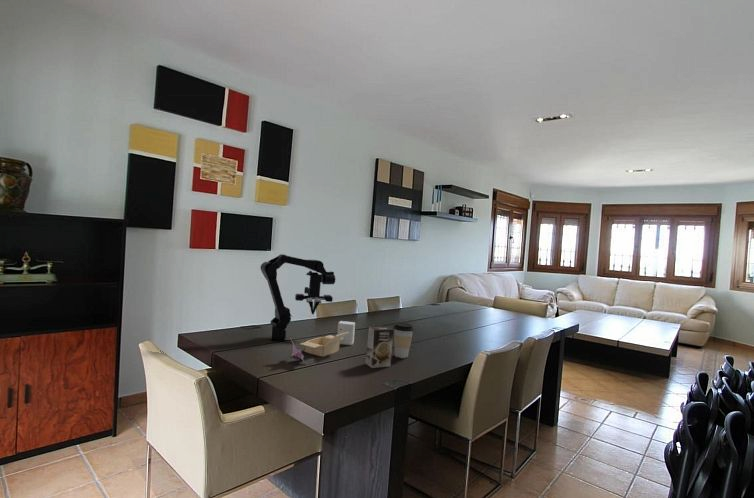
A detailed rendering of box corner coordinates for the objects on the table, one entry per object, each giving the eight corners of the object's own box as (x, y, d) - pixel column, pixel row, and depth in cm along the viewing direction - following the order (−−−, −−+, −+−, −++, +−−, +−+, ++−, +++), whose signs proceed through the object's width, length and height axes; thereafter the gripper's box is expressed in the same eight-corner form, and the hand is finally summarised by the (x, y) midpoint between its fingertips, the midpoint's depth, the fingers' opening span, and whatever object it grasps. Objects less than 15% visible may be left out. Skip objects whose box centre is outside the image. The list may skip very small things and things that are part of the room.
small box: (353, 342, 203) (355, 322, 203) (352, 345, 197) (353, 324, 197) (338, 341, 204) (340, 320, 203) (336, 343, 198) (338, 322, 198)
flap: (335, 335, 173) (336, 335, 173) (348, 331, 182) (348, 332, 182) (324, 344, 176) (325, 345, 176) (337, 340, 185) (338, 341, 185)
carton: (296, 353, 176) (297, 342, 176) (326, 344, 196) (327, 334, 195) (315, 359, 171) (316, 347, 171) (345, 348, 190) (345, 338, 190)
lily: (300, 372, 156) (312, 350, 159) (274, 358, 157) (287, 336, 159) (303, 372, 167) (314, 351, 170) (278, 358, 168) (290, 338, 171)
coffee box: (371, 368, 165) (375, 329, 165) (365, 363, 171) (368, 326, 170) (390, 366, 169) (394, 329, 169) (383, 362, 175) (386, 325, 175)
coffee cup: (414, 356, 188) (416, 324, 188) (407, 360, 180) (409, 328, 179) (395, 352, 192) (398, 321, 192) (387, 356, 184) (390, 324, 183)
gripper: (330, 283, 216) (327, 311, 217) (295, 281, 211) (292, 310, 211) (333, 285, 205) (331, 315, 206) (297, 284, 200) (294, 315, 200)
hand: (312, 314), depth 206 cm, fingers closed
